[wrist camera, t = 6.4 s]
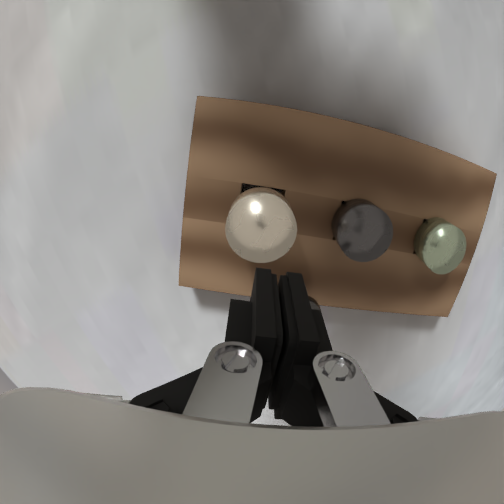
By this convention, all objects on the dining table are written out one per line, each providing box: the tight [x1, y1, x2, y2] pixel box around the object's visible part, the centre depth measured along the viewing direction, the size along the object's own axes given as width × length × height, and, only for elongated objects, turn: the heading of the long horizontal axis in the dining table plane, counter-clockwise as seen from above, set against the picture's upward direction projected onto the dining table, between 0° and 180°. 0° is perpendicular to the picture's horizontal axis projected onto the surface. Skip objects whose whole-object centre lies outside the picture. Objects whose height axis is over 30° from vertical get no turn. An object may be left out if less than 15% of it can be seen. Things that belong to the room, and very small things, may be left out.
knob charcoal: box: [332, 199, 393, 262], centre depth 24 cm, size 4×4×5 cm
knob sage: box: [414, 217, 466, 274], centre depth 25 cm, size 4×4×5 cm
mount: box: [179, 96, 497, 317], centre depth 26 cm, size 16×28×3 cm, turn 81°
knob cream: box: [225, 187, 297, 263], centre depth 22 cm, size 4×4×5 cm
